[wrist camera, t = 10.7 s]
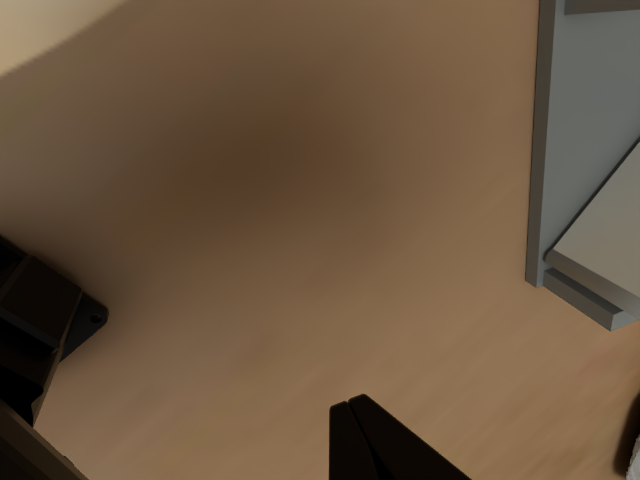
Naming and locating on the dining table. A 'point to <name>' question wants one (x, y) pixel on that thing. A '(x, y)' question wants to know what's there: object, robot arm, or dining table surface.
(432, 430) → the dining table surface
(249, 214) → the dining table surface
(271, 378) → the dining table surface
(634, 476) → the food plate
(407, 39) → the dining table surface
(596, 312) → the grey open box
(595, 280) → the side door
